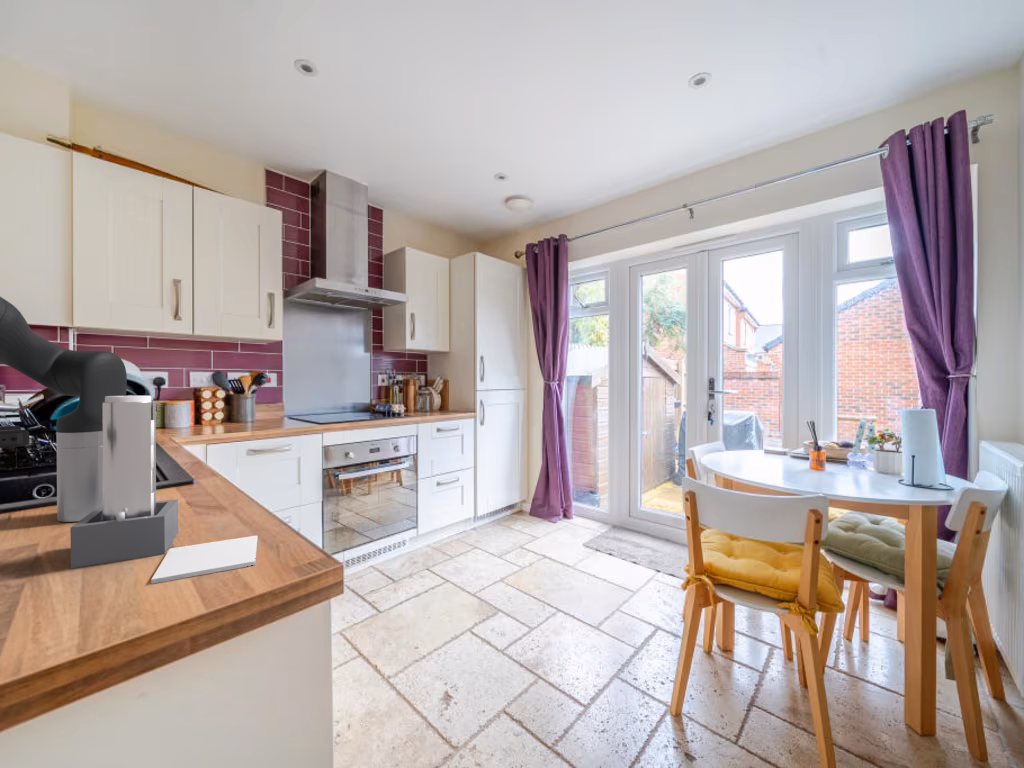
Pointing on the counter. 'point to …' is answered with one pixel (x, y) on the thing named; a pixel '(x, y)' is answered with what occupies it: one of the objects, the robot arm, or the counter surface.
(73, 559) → the housing collar
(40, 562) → the counter surface
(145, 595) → the counter surface
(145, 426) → the silver metal canister
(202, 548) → the rubber mat
